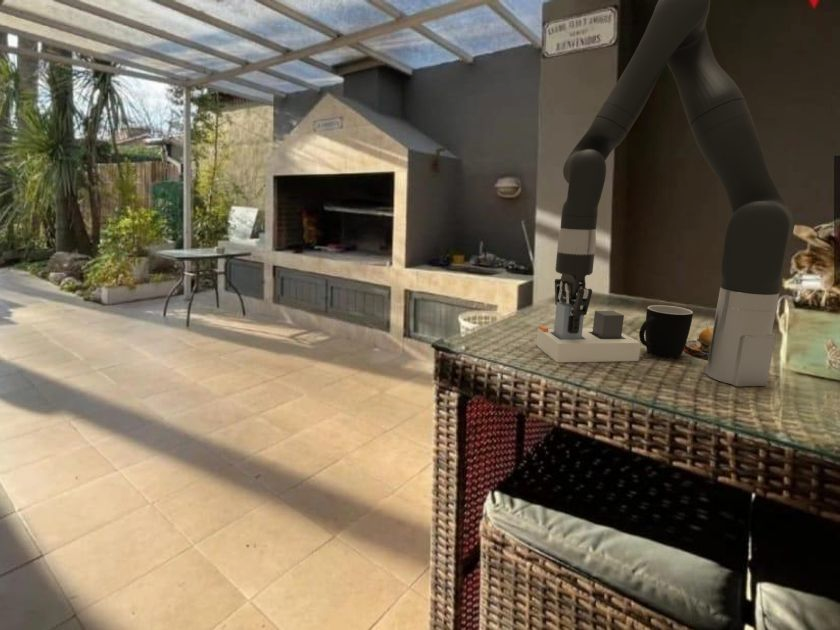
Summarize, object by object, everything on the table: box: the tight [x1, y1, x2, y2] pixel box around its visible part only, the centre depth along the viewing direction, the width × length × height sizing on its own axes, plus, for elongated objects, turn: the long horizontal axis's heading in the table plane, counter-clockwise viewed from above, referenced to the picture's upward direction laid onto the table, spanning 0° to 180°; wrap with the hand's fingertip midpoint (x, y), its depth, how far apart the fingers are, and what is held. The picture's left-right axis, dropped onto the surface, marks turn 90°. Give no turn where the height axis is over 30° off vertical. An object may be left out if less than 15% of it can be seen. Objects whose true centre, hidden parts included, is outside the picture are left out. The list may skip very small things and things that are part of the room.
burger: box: [683, 323, 713, 361], centre depth 110 cm, size 12×12×8 cm
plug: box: [553, 302, 585, 340], centre depth 107 cm, size 4×4×8 cm
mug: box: [638, 304, 694, 359], centre depth 108 cm, size 12×9×10 cm
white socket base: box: [536, 310, 642, 363], centre depth 108 cm, size 12×18×9 cm, turn 97°
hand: (568, 329), depth 107 cm, fingers closed on plug, 4 cm apart
